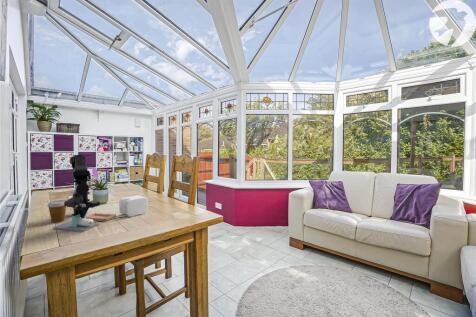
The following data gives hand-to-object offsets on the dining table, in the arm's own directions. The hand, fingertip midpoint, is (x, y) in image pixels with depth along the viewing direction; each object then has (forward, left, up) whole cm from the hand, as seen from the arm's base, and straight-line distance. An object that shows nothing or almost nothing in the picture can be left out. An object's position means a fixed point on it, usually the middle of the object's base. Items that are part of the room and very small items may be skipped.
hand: (82, 218), depth 131 cm
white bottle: (+1, 0, -4) cm, 4 cm away
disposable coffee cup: (-24, +6, -6) cm, 25 cm away
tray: (-3, +16, -5) cm, 17 cm away
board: (-4, 0, -5) cm, 7 cm away
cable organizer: (+12, +29, -6) cm, 32 cm away
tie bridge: (-2, 0, -4) cm, 5 cm away
